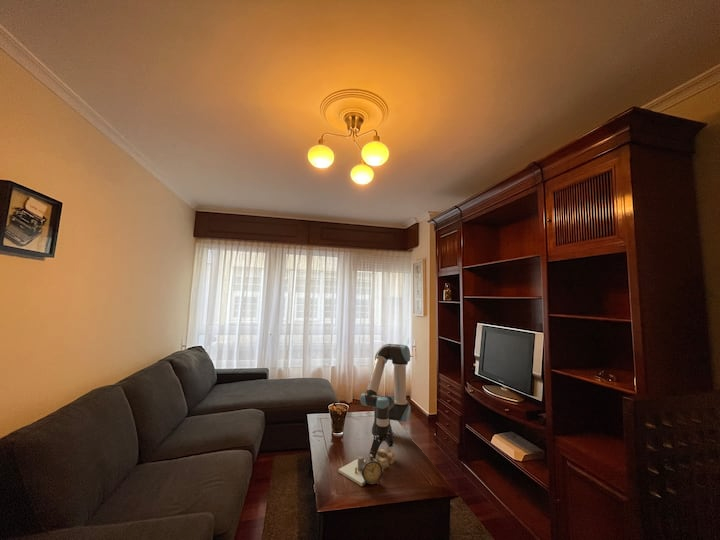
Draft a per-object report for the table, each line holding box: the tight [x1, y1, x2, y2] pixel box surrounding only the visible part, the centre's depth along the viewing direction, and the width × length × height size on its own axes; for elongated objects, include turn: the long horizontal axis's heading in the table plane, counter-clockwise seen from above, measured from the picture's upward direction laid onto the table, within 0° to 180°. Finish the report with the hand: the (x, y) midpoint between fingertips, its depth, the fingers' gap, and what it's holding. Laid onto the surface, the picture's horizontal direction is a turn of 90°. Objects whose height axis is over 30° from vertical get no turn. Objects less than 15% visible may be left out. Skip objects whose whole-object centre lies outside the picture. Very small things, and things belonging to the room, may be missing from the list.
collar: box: [369, 448, 396, 470], centre depth 174 cm, size 11×11×4 cm
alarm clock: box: [361, 451, 384, 486], centre depth 153 cm, size 11×5×16 cm, turn 103°
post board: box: [337, 455, 384, 487], centre depth 163 cm, size 18×18×8 cm
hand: (382, 461), depth 173 cm, fingers open, 13 cm apart
